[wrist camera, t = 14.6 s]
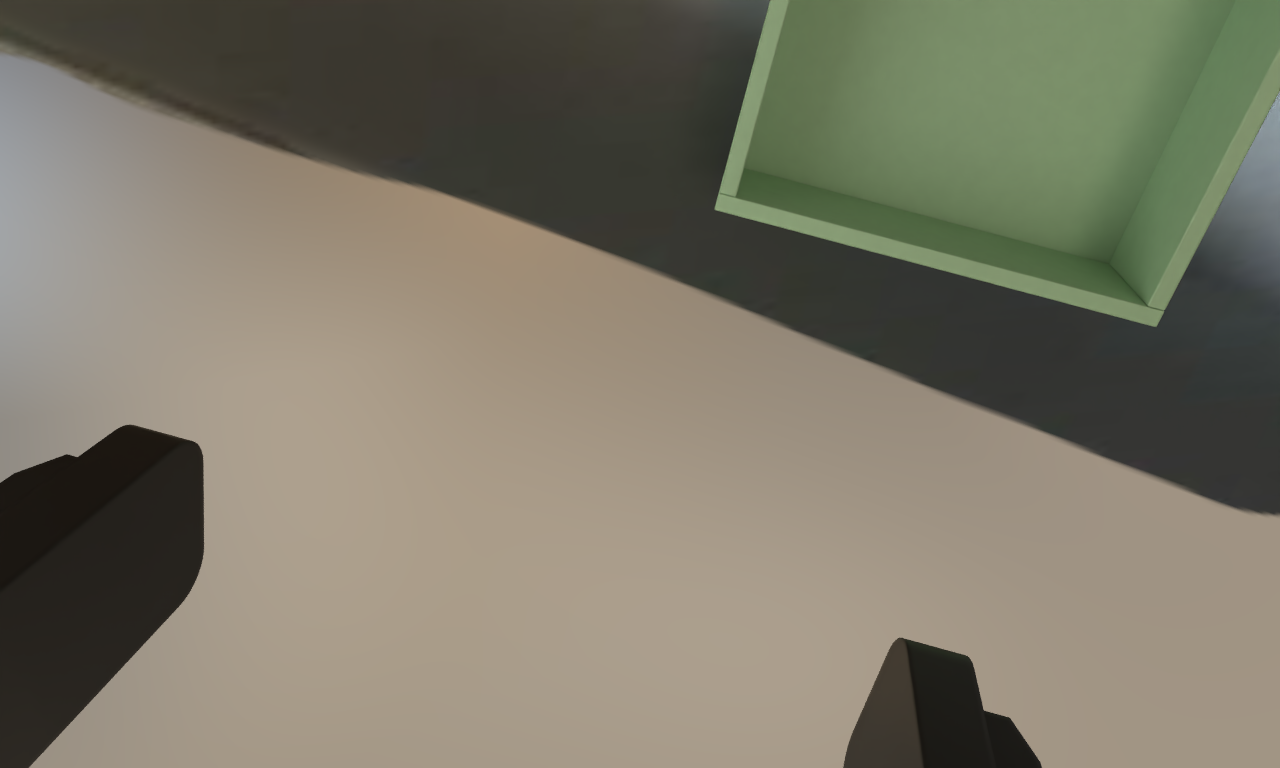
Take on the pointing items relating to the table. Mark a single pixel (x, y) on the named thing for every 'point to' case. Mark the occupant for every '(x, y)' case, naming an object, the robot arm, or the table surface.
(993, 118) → the basket
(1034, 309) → the table surface
